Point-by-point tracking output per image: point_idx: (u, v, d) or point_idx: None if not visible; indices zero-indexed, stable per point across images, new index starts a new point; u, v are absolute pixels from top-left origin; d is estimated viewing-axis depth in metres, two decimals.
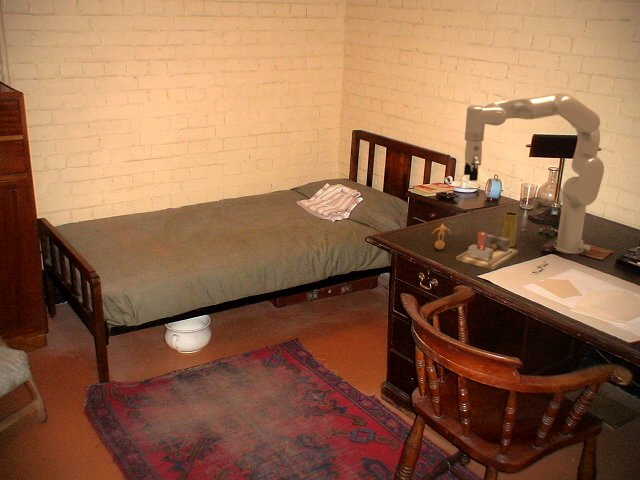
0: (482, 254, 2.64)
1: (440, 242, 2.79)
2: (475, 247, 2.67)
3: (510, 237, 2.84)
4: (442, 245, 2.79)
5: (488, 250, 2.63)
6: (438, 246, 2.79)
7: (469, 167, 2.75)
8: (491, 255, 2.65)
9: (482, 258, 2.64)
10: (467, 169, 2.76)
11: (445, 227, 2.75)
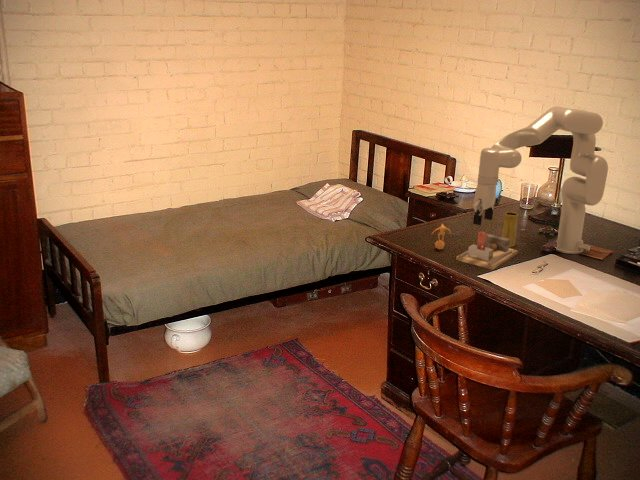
0: (482, 254, 2.64)
1: (440, 242, 2.79)
2: (475, 247, 2.67)
3: (510, 237, 2.84)
4: (442, 245, 2.79)
5: (488, 250, 2.63)
6: (438, 246, 2.79)
7: None
8: (491, 255, 2.65)
9: (482, 258, 2.64)
10: None
11: (445, 227, 2.75)
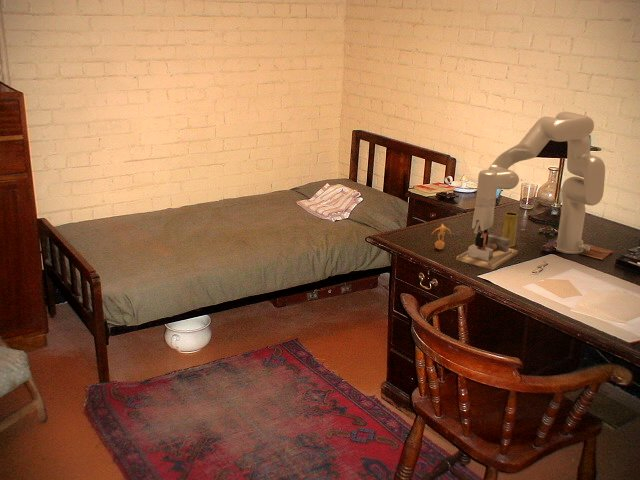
0: (482, 254, 2.64)
1: (440, 242, 2.79)
2: (475, 247, 2.67)
3: (510, 237, 2.84)
4: (442, 245, 2.79)
5: (488, 250, 2.63)
6: (438, 246, 2.79)
7: None
8: (491, 255, 2.65)
9: (482, 258, 2.64)
10: None
11: (445, 227, 2.75)
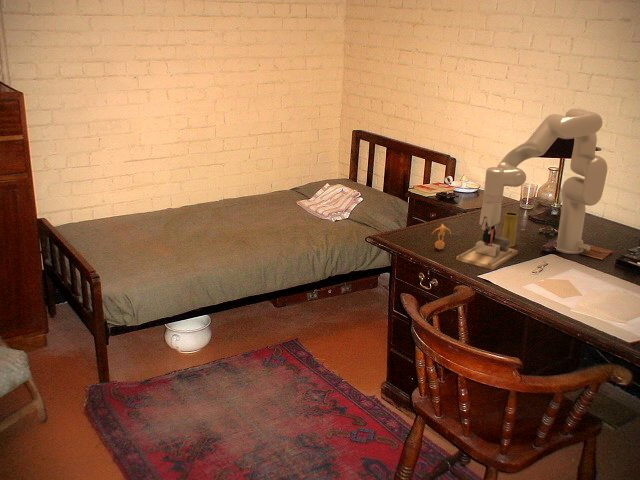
0: (489, 250, 2.69)
1: (440, 242, 2.79)
2: (482, 243, 2.71)
3: (510, 237, 2.84)
4: (442, 245, 2.79)
5: (495, 246, 2.68)
6: (438, 246, 2.79)
7: None
8: (498, 251, 2.69)
9: (489, 254, 2.69)
10: None
11: (445, 227, 2.75)
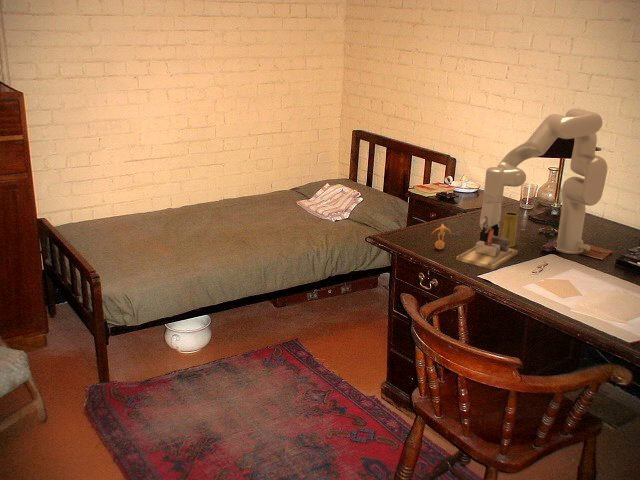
0: (489, 250, 2.69)
1: (440, 242, 2.79)
2: (482, 243, 2.71)
3: (510, 237, 2.84)
4: (442, 245, 2.79)
5: (495, 246, 2.68)
6: (438, 246, 2.79)
7: None
8: (498, 251, 2.69)
9: (489, 254, 2.69)
10: None
11: (445, 227, 2.75)
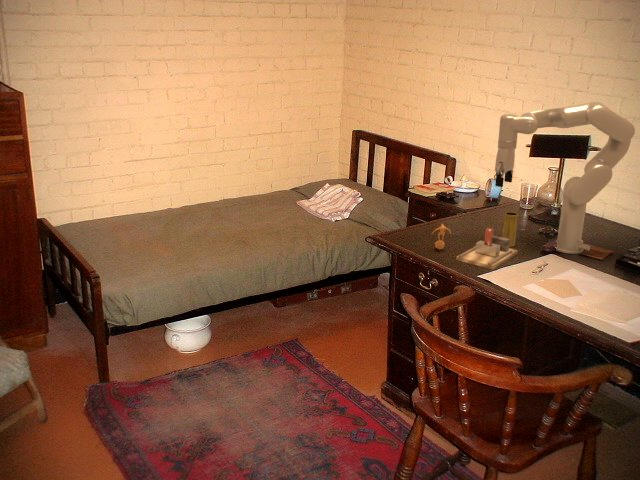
0: (489, 250, 2.69)
1: (440, 242, 2.79)
2: (482, 243, 2.71)
3: (510, 237, 2.84)
4: (442, 245, 2.79)
5: (495, 246, 2.68)
6: (438, 246, 2.79)
7: None
8: (498, 251, 2.69)
9: (489, 254, 2.69)
10: None
11: (445, 227, 2.75)
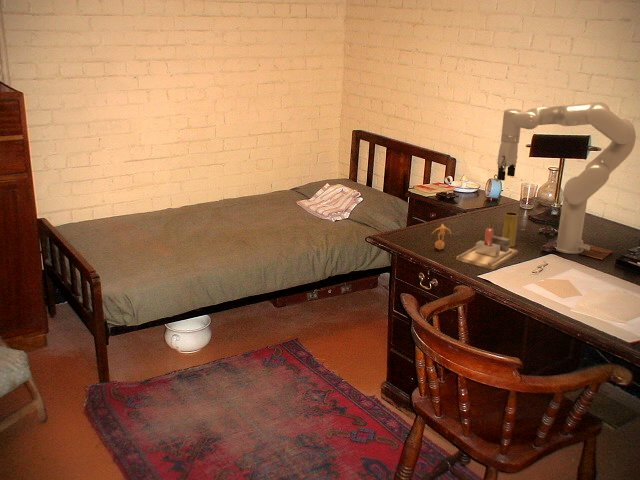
0: (489, 250, 2.69)
1: (440, 242, 2.79)
2: (482, 243, 2.71)
3: (510, 237, 2.84)
4: (442, 245, 2.79)
5: (495, 246, 2.68)
6: (438, 246, 2.79)
7: None
8: (498, 251, 2.69)
9: (489, 254, 2.69)
10: None
11: (445, 227, 2.75)
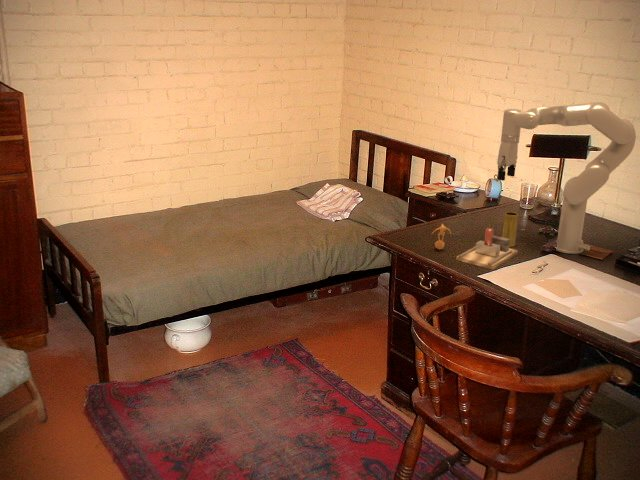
0: (489, 250, 2.69)
1: (440, 242, 2.79)
2: (482, 243, 2.71)
3: (510, 237, 2.84)
4: (442, 245, 2.79)
5: (495, 246, 2.68)
6: (438, 246, 2.79)
7: None
8: (498, 251, 2.69)
9: (489, 254, 2.69)
10: None
11: (445, 227, 2.75)
